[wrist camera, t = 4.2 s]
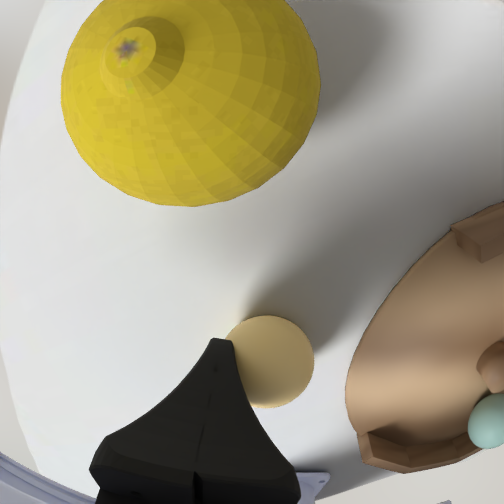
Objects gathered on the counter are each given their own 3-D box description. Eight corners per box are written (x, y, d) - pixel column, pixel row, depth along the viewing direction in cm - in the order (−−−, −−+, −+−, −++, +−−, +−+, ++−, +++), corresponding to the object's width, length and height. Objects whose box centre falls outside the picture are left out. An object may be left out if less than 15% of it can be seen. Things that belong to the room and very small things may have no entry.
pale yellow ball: (269, 358, 16) (314, 410, 13) (198, 372, 14) (238, 437, 11) (289, 294, 15) (347, 344, 11) (210, 301, 12) (261, 367, 9)
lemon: (309, 42, 9) (377, -86, 2) (287, 186, 11) (323, 300, 4) (160, 31, 9) (26, -59, 2) (143, 168, 11) (-14, 242, 4)
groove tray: (498, 429, 18) (507, 447, 16) (306, 453, 18) (308, 482, 15) (601, 234, 11) (621, 246, 8) (413, 149, 10) (444, 156, 8)
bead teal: (485, 416, 16) (504, 453, 12) (450, 423, 16) (468, 465, 12) (512, 379, 15) (536, 415, 11) (478, 384, 15) (504, 427, 11)
